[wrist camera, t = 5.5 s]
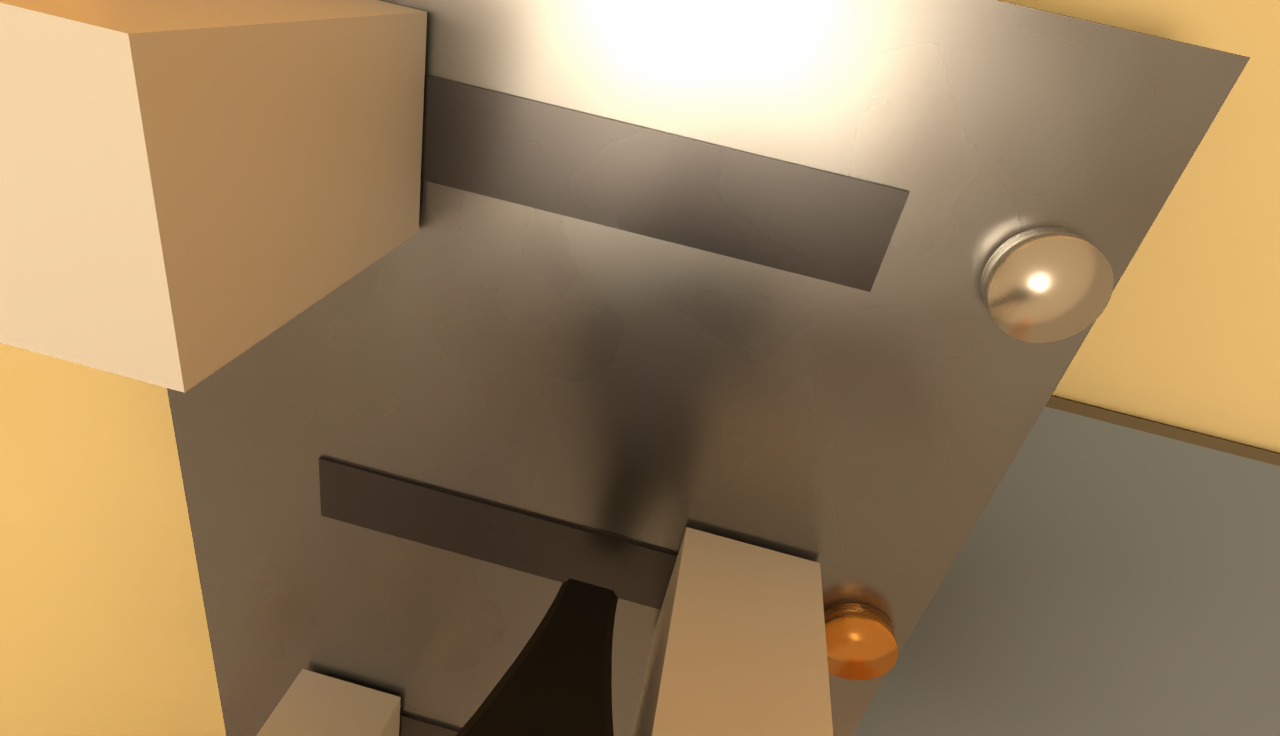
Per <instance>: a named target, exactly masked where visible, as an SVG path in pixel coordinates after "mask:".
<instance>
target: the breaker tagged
mask: <svg viewBox="0 0 1280 736" xmlns="http://www.w3.org/2000/svg"><path fill="white" fill-rule="evenodd" d="M634 736H833V725H832V712H831V699H830V686H829V673H828V660H827V647H826V634H825V620H824V607H823V594H822V581H821V568H820V563H818V562H814V561H810V560H806V559H803V558H799V557H795V556H792V555H788V554H784V553H781V552H777V551H773V550H770V549H766V548H762V547H759V546H755V545H751V544H747V543H744V542H740V541H736V540H733V539H729V538H725V537H722V536H718V535H714V534H711V533H707V532H703V531H699V530H696V529H692V528H688V527H686V530H685V533H684V537H683V540H682V543H681V546H680V550H679V553H678V556H677V559H676V562H675V566H674V569H673V572H672V575H671V579H670V582H669V585H668V588H667V592H666V595H665V598H664V601H663V604H662V608H661V611H660V614H659V617H658V621H657V624H656V627H655V630H654V634H653V637H652V641H651V646H650V651H649V657H648V662H647V667H646V673H645V678H644V683H643V688H642V694H641V699H640V704H639V709H638V715H637V720H636V725H635V730H634Z"/></svg>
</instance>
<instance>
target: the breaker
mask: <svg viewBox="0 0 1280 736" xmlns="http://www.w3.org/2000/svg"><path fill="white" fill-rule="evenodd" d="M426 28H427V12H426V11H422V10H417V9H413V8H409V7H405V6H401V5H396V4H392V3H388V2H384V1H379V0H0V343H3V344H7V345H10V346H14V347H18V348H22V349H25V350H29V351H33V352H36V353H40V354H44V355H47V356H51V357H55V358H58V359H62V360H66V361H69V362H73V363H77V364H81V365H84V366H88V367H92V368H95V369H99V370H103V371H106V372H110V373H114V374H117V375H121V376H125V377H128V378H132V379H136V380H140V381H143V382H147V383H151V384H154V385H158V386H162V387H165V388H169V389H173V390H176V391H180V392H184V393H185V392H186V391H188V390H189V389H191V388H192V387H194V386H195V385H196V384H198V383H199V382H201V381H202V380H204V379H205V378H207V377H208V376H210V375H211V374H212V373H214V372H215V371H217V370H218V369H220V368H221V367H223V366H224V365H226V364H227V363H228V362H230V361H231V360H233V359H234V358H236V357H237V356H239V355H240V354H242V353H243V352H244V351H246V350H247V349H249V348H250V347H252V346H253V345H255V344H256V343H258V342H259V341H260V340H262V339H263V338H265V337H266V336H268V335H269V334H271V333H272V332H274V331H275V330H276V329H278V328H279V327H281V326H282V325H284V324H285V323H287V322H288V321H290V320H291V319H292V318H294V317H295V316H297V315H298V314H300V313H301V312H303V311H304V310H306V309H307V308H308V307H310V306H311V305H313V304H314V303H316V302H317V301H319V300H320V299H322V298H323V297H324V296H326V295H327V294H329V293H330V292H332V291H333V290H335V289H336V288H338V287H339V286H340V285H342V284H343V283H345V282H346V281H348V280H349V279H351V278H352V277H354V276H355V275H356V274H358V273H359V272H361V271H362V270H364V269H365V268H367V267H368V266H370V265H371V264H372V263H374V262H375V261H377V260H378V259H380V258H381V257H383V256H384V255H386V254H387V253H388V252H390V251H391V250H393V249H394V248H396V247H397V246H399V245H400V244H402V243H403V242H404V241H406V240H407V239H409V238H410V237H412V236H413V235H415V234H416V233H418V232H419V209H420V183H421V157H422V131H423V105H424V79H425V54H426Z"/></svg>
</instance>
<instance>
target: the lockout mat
mask: <svg viewBox="0 0 1280 736" xmlns="http://www.w3.org/2000/svg"><path fill="white" fill-rule="evenodd" d="M851 736H1280V454H1278V453H1274V452H1270V451H1266V450H1262V449H1258V448H1254V447H1250V446H1246V445H1242V444H1238V443H1235V442H1231V441H1227V440H1223V439H1219V438H1215V437H1211V436H1207V435H1203V434H1199V433H1195V432H1191V431H1187V430H1183V429H1179V428H1176V427H1172V426H1168V425H1164V424H1160V423H1156V422H1152V421H1148V420H1144V419H1140V418H1136V417H1132V416H1128V415H1124V414H1120V413H1117V412H1113V411H1109V410H1105V409H1101V408H1097V407H1093V406H1089V405H1085V404H1081V403H1077V402H1073V401H1069V400H1065V399H1061V398H1058V397H1054V396H1051V397H1050V399H1049V400H1048V402H1047V404H1046V405H1045V407H1044V409H1043V411H1042V412H1041V414H1040V416H1039V417H1038V419H1037V421H1036V422H1035V424H1034V426H1033V428H1032V429H1031V431H1030V433H1029V434H1028V436H1027V438H1026V439H1025V441H1024V443H1023V445H1022V446H1021V448H1020V450H1019V451H1018V453H1017V455H1016V456H1015V458H1014V460H1013V462H1012V463H1011V465H1010V467H1009V468H1008V470H1007V472H1006V473H1005V475H1004V477H1003V479H1002V480H1001V482H1000V484H999V485H998V487H997V489H996V490H995V492H994V494H993V496H992V497H991V499H990V501H989V502H988V504H987V506H986V507H985V509H984V511H983V513H982V514H981V516H980V518H979V519H978V521H977V523H976V524H975V526H974V528H973V530H972V531H971V533H970V535H969V536H968V538H967V540H966V541H965V543H964V545H963V547H962V548H961V550H960V552H959V553H958V555H957V557H956V558H955V560H954V562H953V564H952V565H951V567H950V569H949V570H948V572H947V574H946V575H945V577H944V579H943V581H942V582H941V584H940V586H939V587H938V589H937V591H936V592H935V594H934V596H933V598H932V599H931V601H930V603H929V604H928V606H927V608H926V609H925V611H924V613H923V615H922V616H921V618H920V620H919V621H918V623H917V625H916V626H915V628H914V630H913V632H912V633H911V635H910V637H909V638H908V640H907V642H906V643H905V645H904V647H903V649H902V650H901V652H900V654H899V655H898V658H897V661H896V663H895V665H894V666H893V668H892V669H891V670H890V671H889V672H888V674H887V676H886V677H885V679H884V681H883V683H882V684H881V686H880V688H879V689H878V691H877V693H876V694H875V696H874V698H873V700H872V701H871V703H870V705H869V706H868V708H867V710H866V711H865V713H864V715H863V717H862V718H861V720H860V722H859V723H858V725H857V727H856V728H855V730H854V732H853V734H852V735H851Z"/></svg>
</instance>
